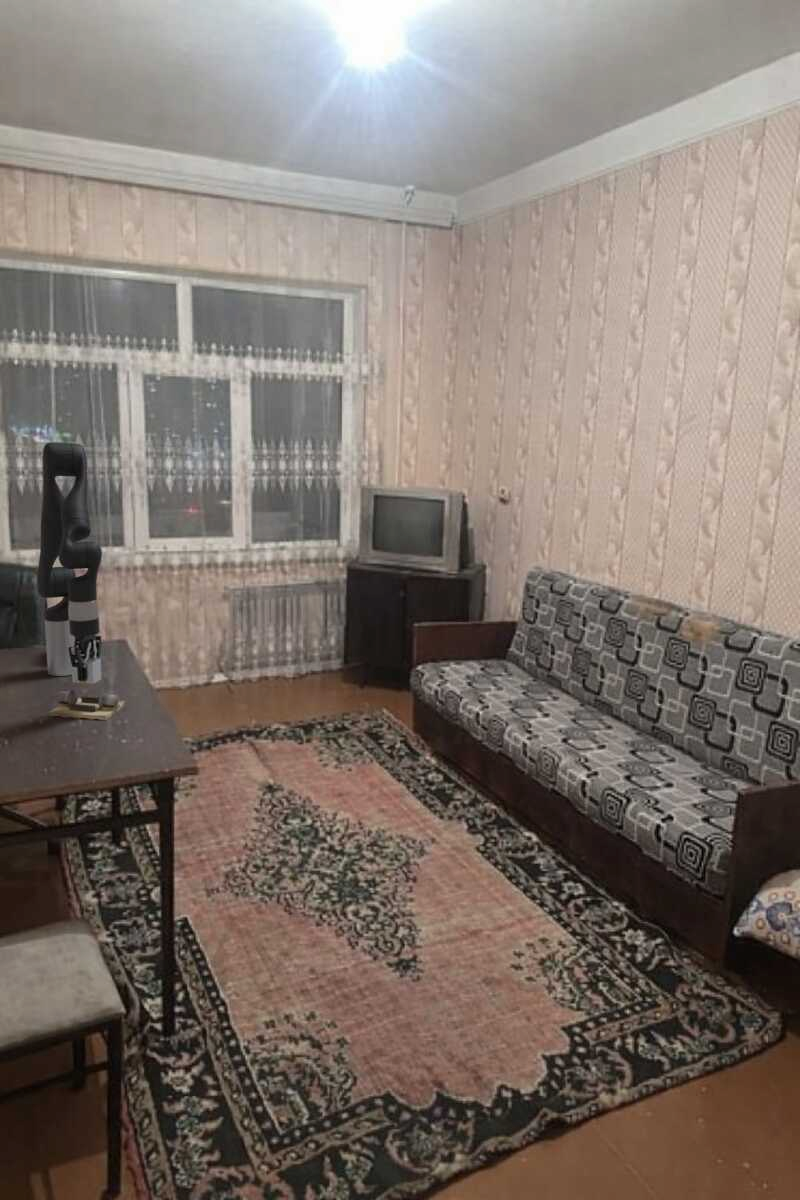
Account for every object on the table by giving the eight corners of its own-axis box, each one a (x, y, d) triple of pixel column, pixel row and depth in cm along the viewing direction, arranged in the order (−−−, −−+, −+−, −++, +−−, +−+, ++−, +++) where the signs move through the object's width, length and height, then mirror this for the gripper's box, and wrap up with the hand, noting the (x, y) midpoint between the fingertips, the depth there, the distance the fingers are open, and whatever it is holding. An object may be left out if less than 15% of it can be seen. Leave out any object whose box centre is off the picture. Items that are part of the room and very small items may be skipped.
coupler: (101, 678, 228) (100, 657, 226) (93, 683, 223) (92, 662, 222) (80, 677, 228) (79, 656, 227) (72, 682, 224) (71, 661, 223)
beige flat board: (72, 701, 234) (70, 682, 233) (126, 705, 233) (125, 685, 231) (49, 716, 223) (48, 695, 222) (106, 720, 221) (105, 699, 220)
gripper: (84, 623, 215) (87, 686, 218) (109, 611, 229) (112, 671, 232) (56, 621, 216) (60, 685, 219) (83, 610, 230) (86, 669, 233)
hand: (87, 677), depth 226 cm, fingers closed on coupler, 4 cm apart
